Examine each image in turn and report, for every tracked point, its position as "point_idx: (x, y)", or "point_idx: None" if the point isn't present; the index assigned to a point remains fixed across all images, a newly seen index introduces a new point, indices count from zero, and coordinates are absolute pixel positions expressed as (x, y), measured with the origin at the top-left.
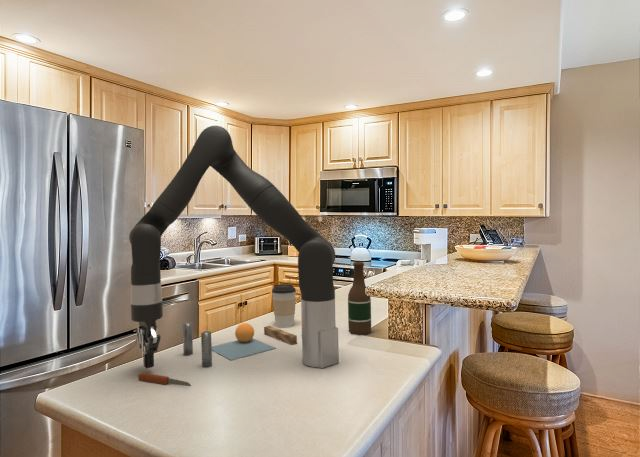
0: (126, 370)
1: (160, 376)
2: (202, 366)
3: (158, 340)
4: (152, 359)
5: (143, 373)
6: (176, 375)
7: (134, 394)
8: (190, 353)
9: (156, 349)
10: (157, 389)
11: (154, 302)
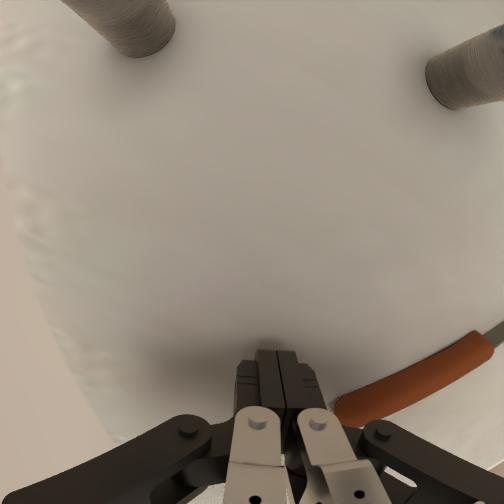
0: (155, 408)
1: (464, 372)
2: (451, 108)
3: (501, 487)
4: (317, 392)
5: (365, 420)
6: (442, 270)
7: (435, 436)
8: (172, 21)
9: (408, 438)
10: (474, 377)
11: None
